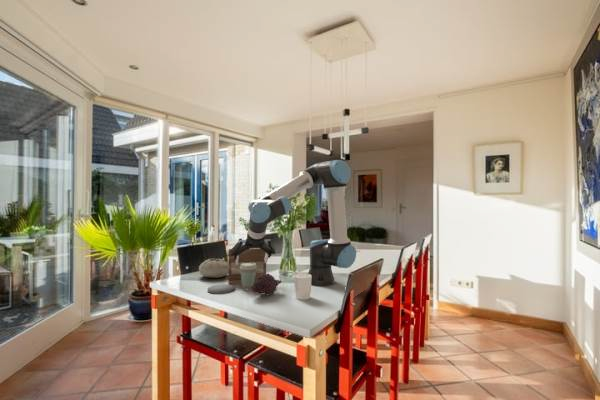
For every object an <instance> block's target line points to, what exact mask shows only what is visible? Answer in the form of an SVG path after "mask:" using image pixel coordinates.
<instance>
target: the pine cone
mask: <svg viewBox="0 0 600 400" xmlns="http://www.w3.org/2000/svg"><path fill="white" fill-rule="evenodd" d="M281 283H282V280H279V279H275V277H274V276H273V275H272V274H270V273H266V274H263V275H260V276H259V277H258V278H257V280H256V282H255V283H254V284H253V286H252V287H251V289H250V290H251V292H252V293H253V292H254V294H260V295H261V294H265V296H267V295H268V296H270V295H273V294H274V293H276V292H275V291H277V287H278V285H280V284H281Z"/></svg>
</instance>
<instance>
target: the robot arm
mask: <svg viewBox="0 0 600 400" xmlns="http://www.w3.org/2000/svg"><path fill="white" fill-rule="evenodd" d="M351 177H352V172H351V169H350V166H349V165H348V164H347V162H346V161H344V160H341V159H335V160H334V159H333V160H328V161H327V160H326V161H320V162H317V163H314V164H312V165H310V166H309V167H307V168H306V169H304V170H302V171H301V172H300V173H299V174H298V176H296V177H294V178H293V179H290V180H289V181H288V182H285V183H284V184H282V185H281V186H279V187H277V188H275V189H274V190H272V191H270V192H268V193H267V194H266V195H263V196H262V197H260V198H256V199H252V200H251V201H250V202H249V203H248V212H249V219H248V220H249V221H248V229H247V234H246V235H247V236H246V239H243V238H239V239H238V240H237V242H236V244H234V246H232V248H230V249H231V250H230V255H231V256H233V255H234V260H236V265H238V258H239V254H241V253H242V252H244V251H245V250H248V249H250V248H260V249H262V250H264V251H265V252H266V254H265V258H264V259H265V263H266V264H268V259H270V258H271V257H272V255H275V254H276V250H275V247H274V245H273V243H272V241H271V237H267V238H266V239H265V237H266V232H267V228H268V224H270V223H271V222H274V221H275V220H277V219H279V218H281V217H283V216H285V215H287V214H289V212H291V210H292V208H293V206H292V203H291V200H290V199H292V198H294V197H295V196H297V195H299V194H300V193H301V192H303V191H304V190H306V189H311V188H313V187H315V186H320V185H323V189H324V190H325V191H326V197H327V209H328V211H327V212H328V225H329V238H327V239H315V240H311V242H310V244H309V268H308V269H309V270H308V273H307V274H310V275H312V281H311V286H312V285H313V286H317V287H318V286H320V287H321V286H331V285H332V286H333V285H334V284H335V276H334V273H333V271H332V267H336V268H339V269H348V268H349V269H350V267H352V266H353V264H354V263H355V261H356V259H357V250H356V248H355V246H354V245H352V243H351V239H350V238H349V237H348V231H347V230H348V229H347V217H346V216H347V215H346V213H347V211H346V201H345V200H346V199H345V189H346V188H347V186H348V185H347V183H349V182H350V181H351Z"/></svg>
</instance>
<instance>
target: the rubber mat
mask: <svg viewBox="0 0 600 400" xmlns="http://www.w3.org/2000/svg"><path fill="white" fill-rule="evenodd" d="M235 287H236V286H235V285H234V284H228V283H225V284H224V283H223V284H222V283H221V284H219V283H218V284H215V285H211V286H209V287H207V293H209V294H214V295H222V294H223V295H224V294H228V293H232V292H234V291H235V290H236V288H235Z"/></svg>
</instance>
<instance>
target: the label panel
mask: <svg viewBox="0 0 600 400" xmlns="http://www.w3.org/2000/svg"><path fill="white" fill-rule="evenodd" d="M231 249H232V248H229V249H228V263H229V273H228V274H227V275H228V278H227V279H228V281H227V282H228V283H227V284H229V285H242V280H241V270H240V266H241V264H242V263H255V264H256V266H257V268H256V275H255V282H256V280H257V278H258V277H259V276H260V275H263V274H267V263H265V259H264V258H265V254H266V252H265V251H264V250H262V249H260V248H250V249H248V250H245V251H244V252H242V253H241V254H239V258H238V265H236V260H234V255H233V256H231V255H230V250H231Z"/></svg>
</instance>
